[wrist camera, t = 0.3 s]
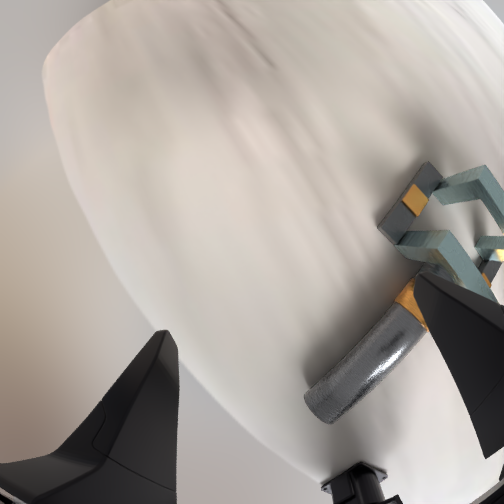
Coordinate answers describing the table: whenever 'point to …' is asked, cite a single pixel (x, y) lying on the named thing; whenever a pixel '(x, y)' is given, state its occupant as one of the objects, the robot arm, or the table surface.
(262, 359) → the table surface
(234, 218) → the table surface
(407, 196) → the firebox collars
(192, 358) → the table surface
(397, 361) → the tube
